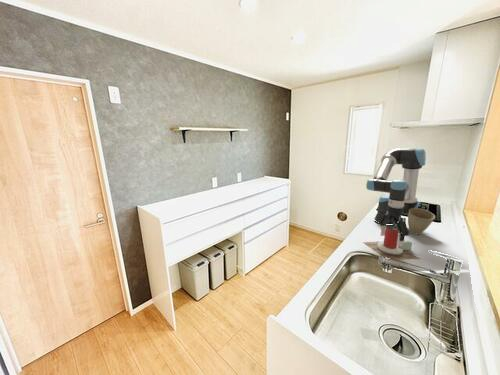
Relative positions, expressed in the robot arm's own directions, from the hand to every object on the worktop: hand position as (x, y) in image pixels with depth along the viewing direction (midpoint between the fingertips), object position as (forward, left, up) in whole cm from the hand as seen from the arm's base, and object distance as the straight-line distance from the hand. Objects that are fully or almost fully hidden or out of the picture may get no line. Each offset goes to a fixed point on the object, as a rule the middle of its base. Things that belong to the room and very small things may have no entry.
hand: (390, 240), depth 123 cm
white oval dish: (0, +3, -6) cm, 7 cm away
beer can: (0, 0, -4) cm, 4 cm away
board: (0, 0, -7) cm, 7 cm away
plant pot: (-27, +42, -7) cm, 50 cm away
